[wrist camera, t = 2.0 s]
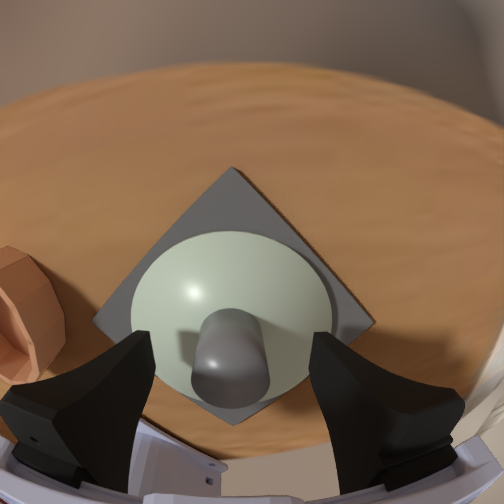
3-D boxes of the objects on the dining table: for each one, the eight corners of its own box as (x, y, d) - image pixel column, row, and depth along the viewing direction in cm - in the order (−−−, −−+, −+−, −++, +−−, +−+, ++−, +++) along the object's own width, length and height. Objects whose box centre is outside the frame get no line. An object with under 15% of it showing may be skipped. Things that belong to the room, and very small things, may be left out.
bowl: (84, 316, 14) (54, 349, 10) (44, 375, 15) (23, 403, 11) (4, 221, 12) (-34, 234, 8) (-22, 299, 13) (-49, 317, 9)
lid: (362, 323, 14) (397, 366, 10) (233, 419, 15) (234, 470, 12) (230, 182, 12) (227, 185, 8) (101, 323, 13) (68, 366, 9)
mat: (370, 319, 14) (373, 322, 14) (233, 421, 16) (233, 426, 16) (231, 166, 12) (231, 166, 12) (94, 317, 14) (91, 321, 13)
